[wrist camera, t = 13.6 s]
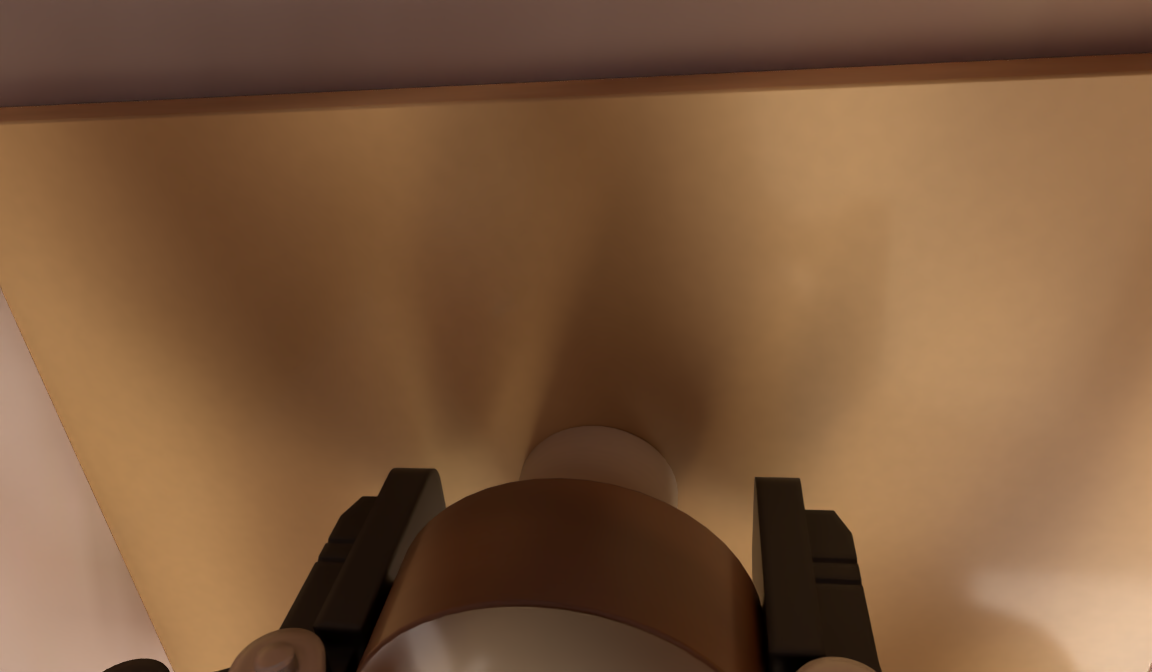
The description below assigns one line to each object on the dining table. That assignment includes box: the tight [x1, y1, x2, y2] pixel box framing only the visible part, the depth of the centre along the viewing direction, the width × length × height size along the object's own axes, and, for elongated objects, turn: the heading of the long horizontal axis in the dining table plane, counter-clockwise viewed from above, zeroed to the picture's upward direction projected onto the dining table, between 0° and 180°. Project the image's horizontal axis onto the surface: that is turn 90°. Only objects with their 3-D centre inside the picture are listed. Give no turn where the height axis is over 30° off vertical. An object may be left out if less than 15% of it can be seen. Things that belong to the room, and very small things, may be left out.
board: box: [0, 53, 1152, 672], centre depth 16 cm, size 20×14×1 cm
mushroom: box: [356, 426, 767, 672], centre depth 13 cm, size 5×5×5 cm
